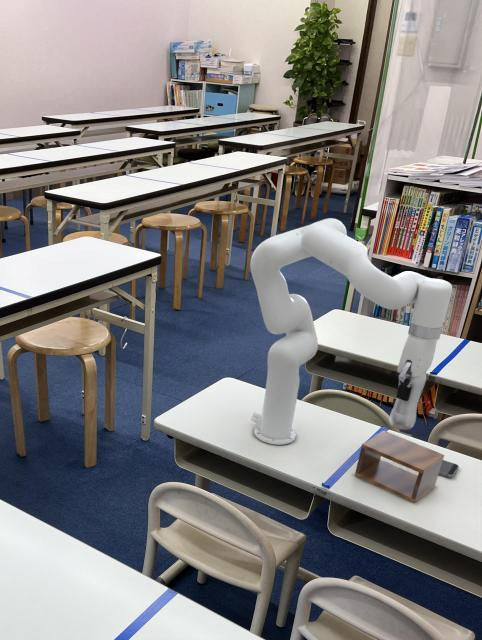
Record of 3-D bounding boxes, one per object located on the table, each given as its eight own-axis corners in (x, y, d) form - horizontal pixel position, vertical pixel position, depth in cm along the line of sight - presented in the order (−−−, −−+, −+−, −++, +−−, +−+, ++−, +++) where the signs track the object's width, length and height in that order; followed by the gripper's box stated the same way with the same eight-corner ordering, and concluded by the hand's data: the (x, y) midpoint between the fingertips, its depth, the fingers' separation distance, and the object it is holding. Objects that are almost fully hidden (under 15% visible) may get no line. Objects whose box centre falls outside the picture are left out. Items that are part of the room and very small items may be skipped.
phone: (458, 467, 201) (403, 449, 209) (459, 464, 201) (404, 447, 209) (451, 478, 196) (395, 460, 204) (452, 476, 196) (396, 457, 203)
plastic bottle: (415, 434, 184) (434, 364, 174) (388, 431, 185) (406, 361, 175) (411, 423, 189) (430, 354, 179) (386, 420, 190) (402, 351, 180)
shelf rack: (354, 475, 196) (362, 443, 190) (375, 461, 203) (383, 430, 198) (414, 503, 185) (424, 470, 180) (434, 486, 192) (444, 454, 187)
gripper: (426, 318, 180) (410, 382, 190) (394, 334, 170) (379, 400, 179) (454, 326, 176) (436, 391, 185) (423, 342, 165) (406, 410, 175)
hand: (408, 395), depth 182 cm, fingers closed on plastic bottle, 6 cm apart
